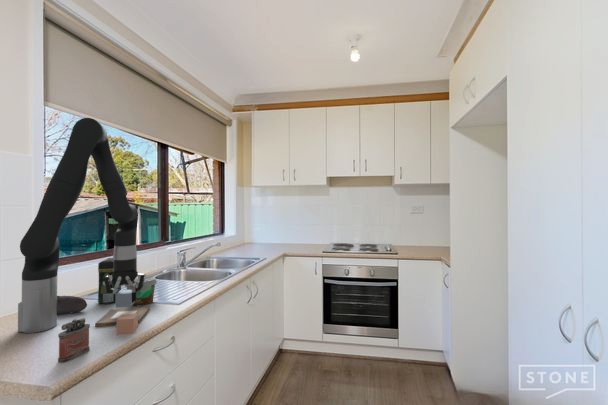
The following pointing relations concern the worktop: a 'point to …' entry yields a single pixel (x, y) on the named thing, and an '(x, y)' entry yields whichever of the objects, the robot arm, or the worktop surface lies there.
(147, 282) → the food container
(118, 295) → the slate block
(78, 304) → the perforated stone tool
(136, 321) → the terracotta block
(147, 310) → the walnut board
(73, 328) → the lighter
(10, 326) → the worktop surface
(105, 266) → the coffee jar
